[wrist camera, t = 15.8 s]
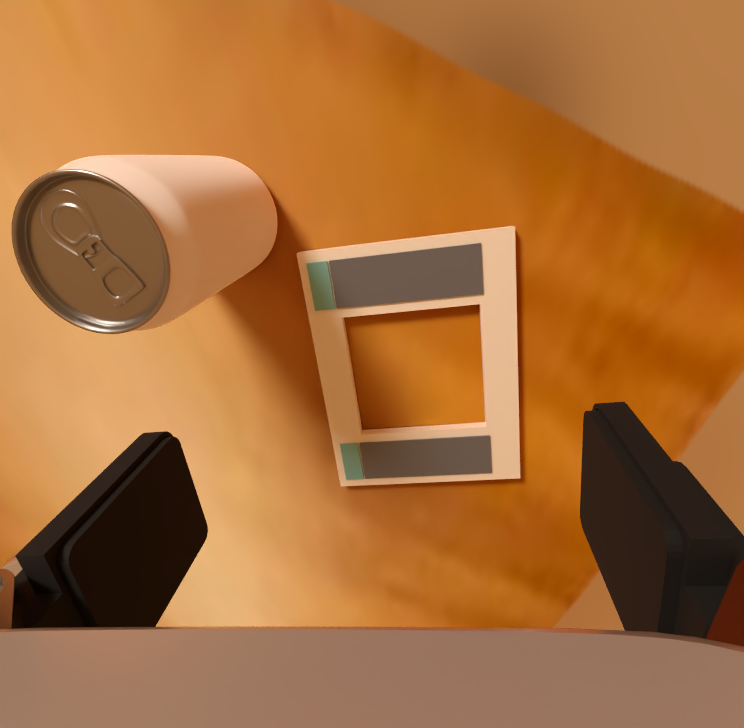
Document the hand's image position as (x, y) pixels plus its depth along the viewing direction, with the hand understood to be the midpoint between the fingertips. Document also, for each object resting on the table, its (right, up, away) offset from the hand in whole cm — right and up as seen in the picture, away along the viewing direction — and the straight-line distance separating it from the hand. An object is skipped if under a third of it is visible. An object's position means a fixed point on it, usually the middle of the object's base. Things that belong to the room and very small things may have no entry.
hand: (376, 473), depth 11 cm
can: (-8, +11, +17) cm, 22 cm away
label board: (+3, +2, +19) cm, 19 cm away
